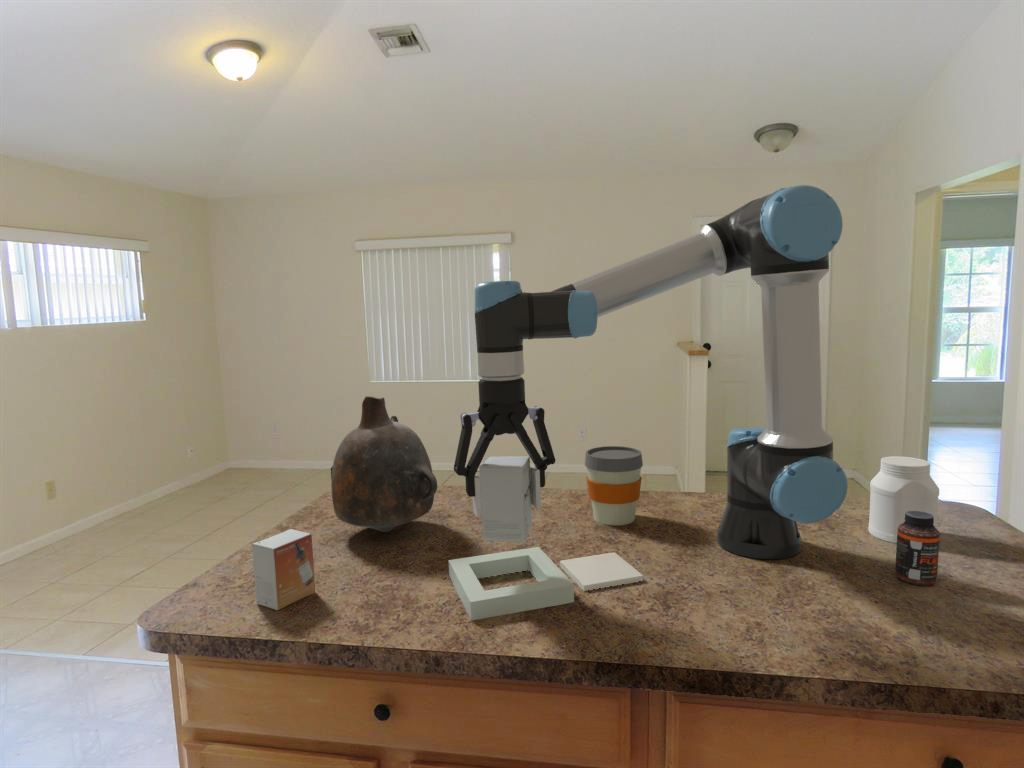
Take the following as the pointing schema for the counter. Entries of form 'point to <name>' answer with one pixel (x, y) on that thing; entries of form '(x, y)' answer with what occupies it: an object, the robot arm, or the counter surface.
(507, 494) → the supplement box
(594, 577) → the tile
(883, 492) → the jar
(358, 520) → the jug
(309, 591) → the small box
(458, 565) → the holder
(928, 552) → the supplement bottle
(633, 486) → the reusable coffee cup
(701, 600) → the counter surface
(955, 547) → the counter surface
